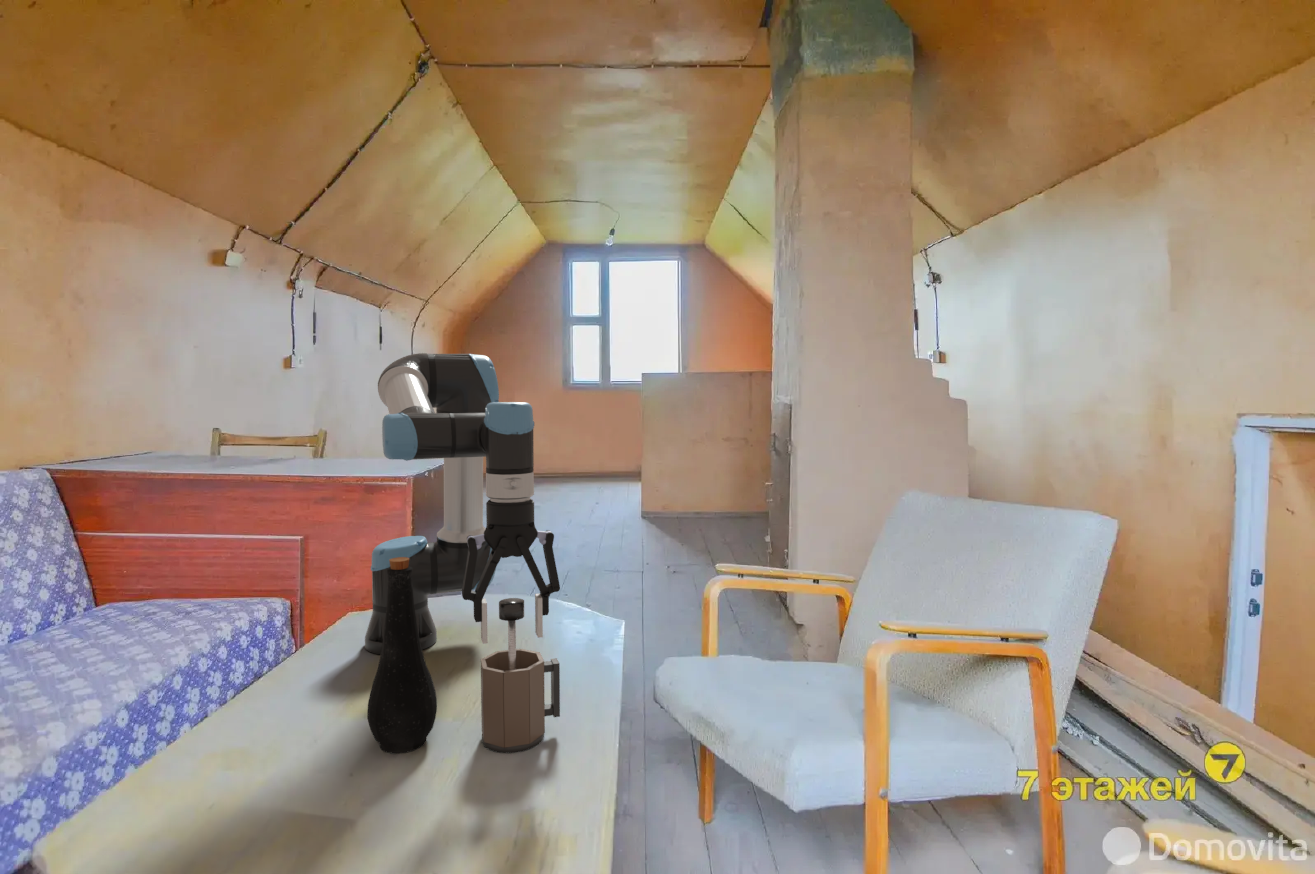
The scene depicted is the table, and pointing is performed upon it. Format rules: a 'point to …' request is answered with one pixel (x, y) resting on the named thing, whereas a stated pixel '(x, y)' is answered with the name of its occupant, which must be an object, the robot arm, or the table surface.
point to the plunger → (511, 624)
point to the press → (516, 700)
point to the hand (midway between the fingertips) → (512, 637)
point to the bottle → (401, 672)
